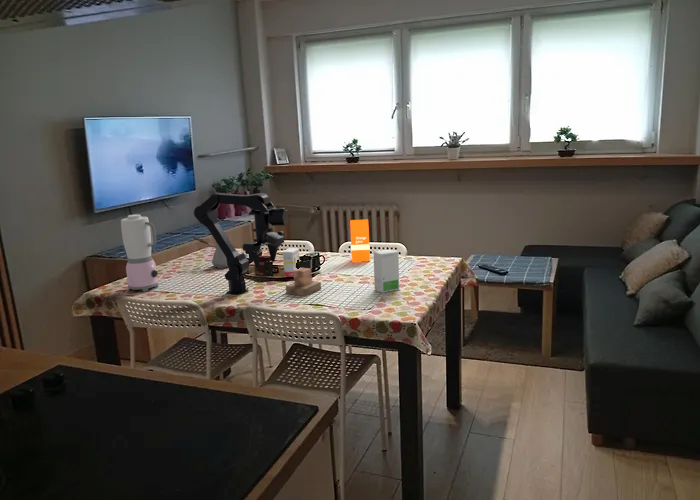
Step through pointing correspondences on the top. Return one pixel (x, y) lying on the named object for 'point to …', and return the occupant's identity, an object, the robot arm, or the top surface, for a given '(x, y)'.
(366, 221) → the orange juice
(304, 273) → the terracotta cube
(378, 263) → the skincare box
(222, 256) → the coffee pot
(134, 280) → the blender
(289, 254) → the ink box
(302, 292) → the tan square slab
